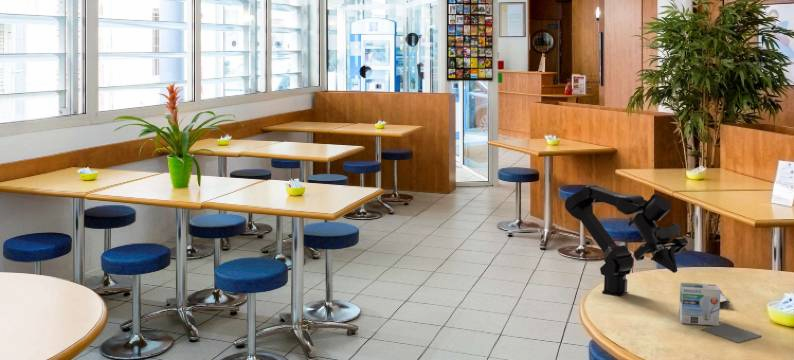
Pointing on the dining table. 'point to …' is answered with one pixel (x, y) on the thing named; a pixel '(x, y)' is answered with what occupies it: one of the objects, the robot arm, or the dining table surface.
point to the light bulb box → (699, 303)
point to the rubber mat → (731, 333)
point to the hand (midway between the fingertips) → (675, 271)
